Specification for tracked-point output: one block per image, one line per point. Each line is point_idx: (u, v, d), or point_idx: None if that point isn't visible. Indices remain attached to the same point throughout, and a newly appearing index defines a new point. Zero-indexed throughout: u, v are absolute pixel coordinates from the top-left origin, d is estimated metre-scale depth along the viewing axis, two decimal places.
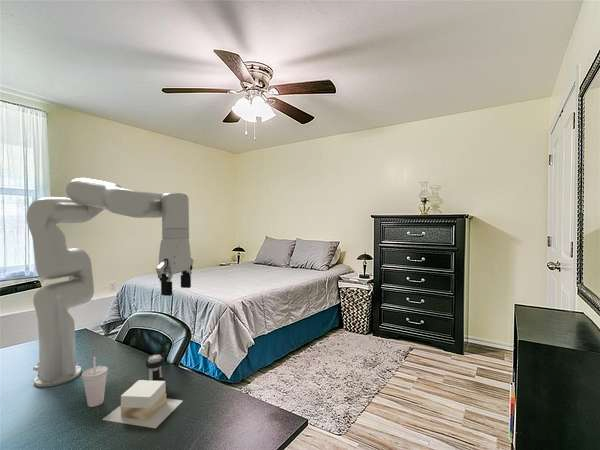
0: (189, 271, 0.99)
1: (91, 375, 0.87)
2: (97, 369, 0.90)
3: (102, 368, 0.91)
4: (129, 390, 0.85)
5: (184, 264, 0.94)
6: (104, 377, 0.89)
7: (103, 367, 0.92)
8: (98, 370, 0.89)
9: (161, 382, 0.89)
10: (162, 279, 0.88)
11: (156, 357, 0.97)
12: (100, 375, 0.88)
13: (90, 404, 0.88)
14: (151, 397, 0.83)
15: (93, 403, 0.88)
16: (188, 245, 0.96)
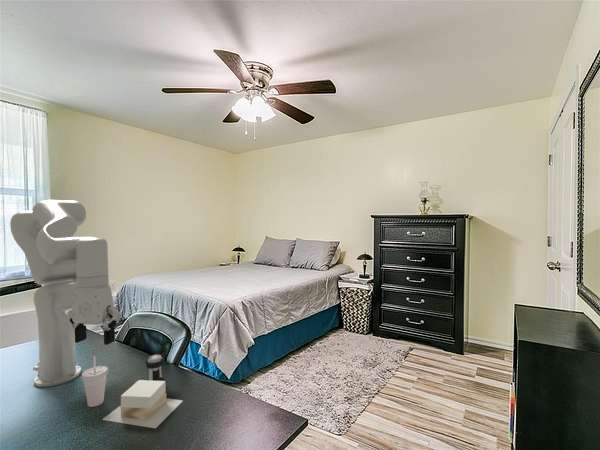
0: None
1: (91, 375, 0.87)
2: (97, 369, 0.90)
3: (102, 368, 0.91)
4: (129, 390, 0.85)
5: None
6: (104, 377, 0.89)
7: (103, 367, 0.92)
8: (98, 370, 0.89)
9: (161, 382, 0.89)
10: (114, 325, 0.87)
11: (156, 357, 0.97)
12: (100, 375, 0.88)
13: (90, 404, 0.88)
14: (151, 397, 0.83)
15: (93, 403, 0.88)
16: None
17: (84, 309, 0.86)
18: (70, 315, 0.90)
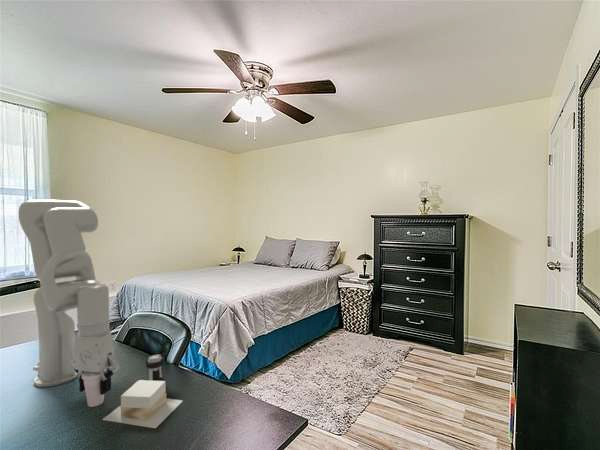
0: None
1: (91, 375, 0.87)
2: None
3: None
4: (129, 390, 0.85)
5: None
6: None
7: None
8: None
9: (161, 382, 0.89)
10: (110, 375, 0.88)
11: (156, 357, 0.97)
12: None
13: (90, 404, 0.88)
14: (151, 397, 0.83)
15: (93, 403, 0.88)
16: None
17: (85, 357, 0.87)
18: None
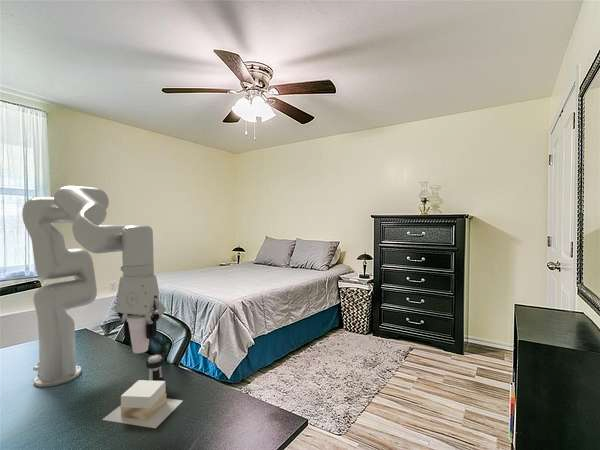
0: None
1: (137, 318, 0.83)
2: None
3: None
4: (129, 390, 0.85)
5: None
6: None
7: None
8: None
9: (161, 382, 0.89)
10: (157, 319, 0.84)
11: (156, 357, 0.97)
12: (146, 319, 0.84)
13: (135, 349, 0.84)
14: (151, 397, 0.83)
15: (139, 348, 0.84)
16: None
17: (131, 299, 0.83)
18: (117, 309, 0.86)
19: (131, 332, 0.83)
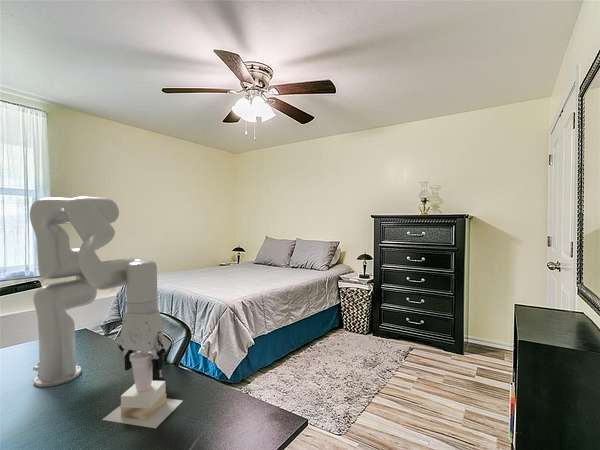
0: None
1: (140, 357, 0.83)
2: (144, 351, 0.86)
3: None
4: (129, 390, 0.85)
5: None
6: (152, 359, 0.86)
7: None
8: (146, 352, 0.86)
9: (161, 382, 0.89)
10: (163, 354, 0.85)
11: None
12: (149, 357, 0.84)
13: (138, 388, 0.84)
14: (151, 397, 0.83)
15: (142, 386, 0.84)
16: None
17: (134, 335, 0.83)
18: (119, 342, 0.87)
19: (134, 371, 0.84)
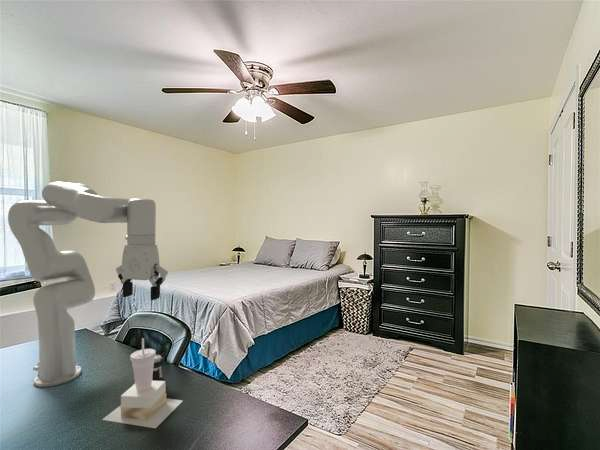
0: None
1: (140, 357, 0.84)
2: (145, 351, 0.86)
3: (150, 351, 0.88)
4: (129, 390, 0.85)
5: None
6: (153, 360, 0.86)
7: (150, 350, 0.88)
8: (146, 352, 0.86)
9: (161, 382, 0.89)
10: (160, 282, 0.92)
11: (156, 357, 0.97)
12: (149, 357, 0.84)
13: (139, 388, 0.84)
14: (151, 397, 0.83)
15: (142, 386, 0.84)
16: None
17: (133, 265, 0.91)
18: (118, 271, 0.95)
19: (134, 371, 0.84)
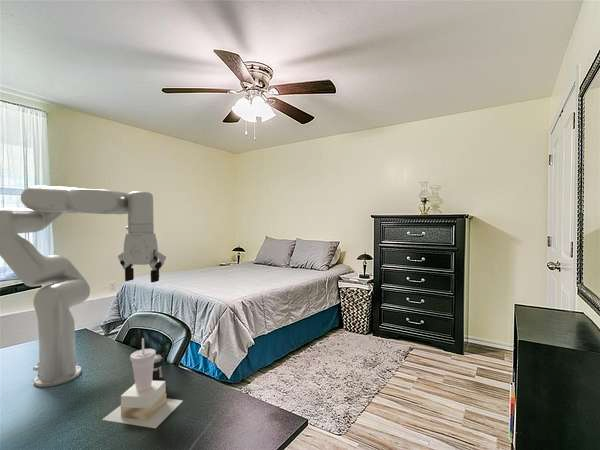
0: None
1: (140, 357, 0.84)
2: (145, 351, 0.86)
3: (150, 351, 0.88)
4: (129, 390, 0.85)
5: None
6: (153, 360, 0.86)
7: (150, 350, 0.88)
8: (146, 352, 0.86)
9: (161, 382, 0.89)
10: (159, 266, 1.02)
11: (156, 357, 0.97)
12: (149, 357, 0.84)
13: (139, 388, 0.84)
14: (151, 397, 0.83)
15: (142, 386, 0.84)
16: None
17: (134, 251, 1.01)
18: (120, 258, 1.05)
19: (134, 371, 0.84)
